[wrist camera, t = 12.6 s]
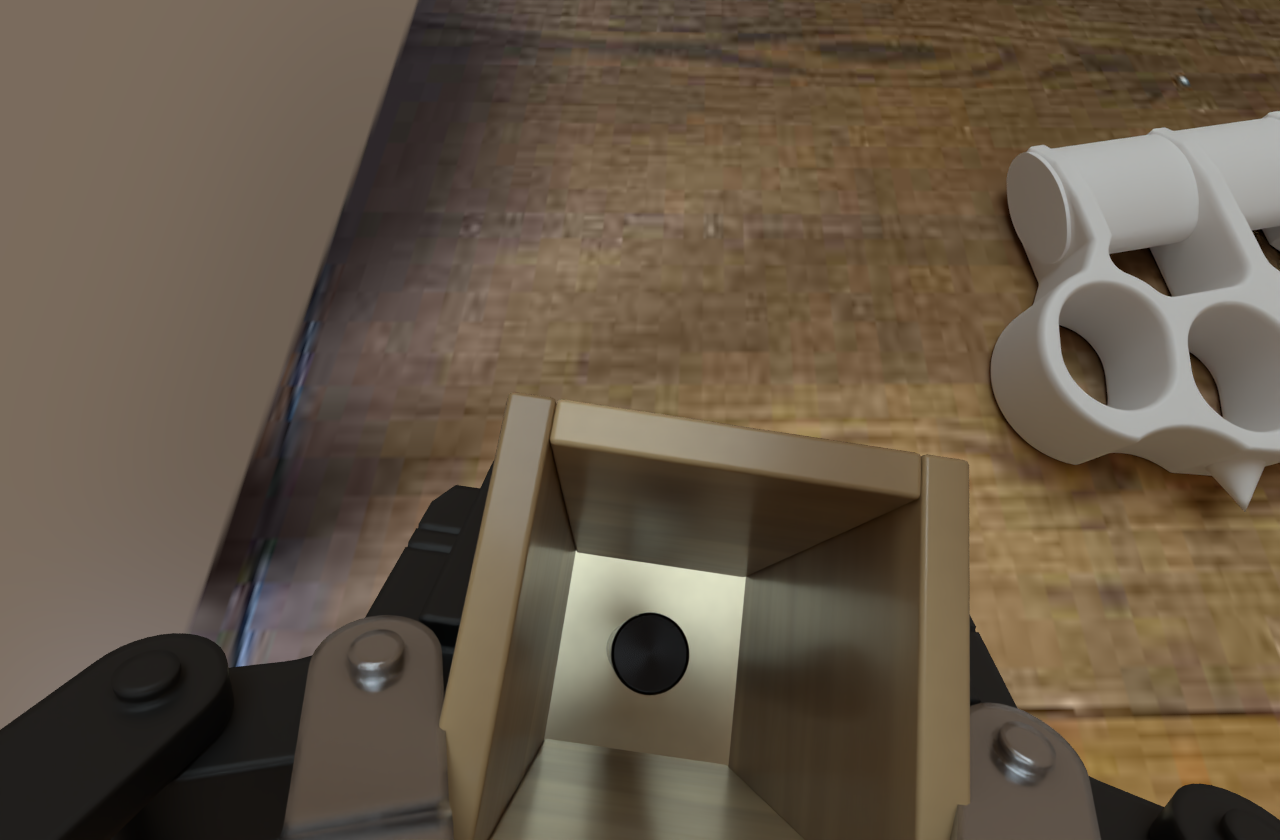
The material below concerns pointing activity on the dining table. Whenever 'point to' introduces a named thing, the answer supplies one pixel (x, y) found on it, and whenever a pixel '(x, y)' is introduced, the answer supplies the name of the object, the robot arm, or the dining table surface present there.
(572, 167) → the dining table surface
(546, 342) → the dining table surface
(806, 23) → the dining table surface
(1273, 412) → the white brass knuckles
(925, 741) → the birch sleeve
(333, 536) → the dining table surface
